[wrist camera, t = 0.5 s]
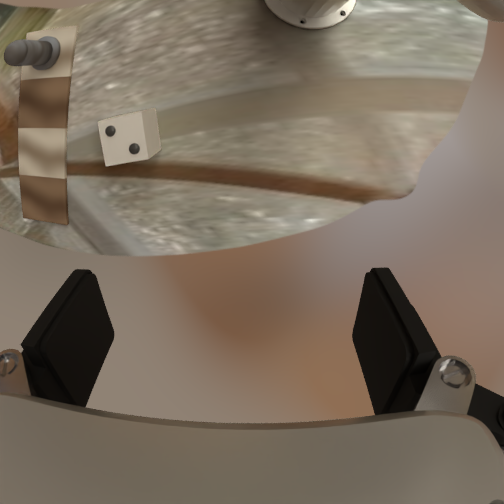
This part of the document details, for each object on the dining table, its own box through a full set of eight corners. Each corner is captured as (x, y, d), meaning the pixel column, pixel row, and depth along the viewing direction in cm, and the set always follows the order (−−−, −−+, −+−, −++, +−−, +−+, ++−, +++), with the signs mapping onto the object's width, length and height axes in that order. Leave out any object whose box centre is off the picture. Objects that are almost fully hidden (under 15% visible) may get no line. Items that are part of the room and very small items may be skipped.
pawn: (36, 38, 31) (-3, 36, 23) (63, 34, 32) (25, 30, 23) (31, 71, 34) (-8, 75, 26) (58, 68, 34) (19, 70, 26)
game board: (29, 33, 31) (27, 33, 30) (79, 25, 32) (77, 25, 31) (25, 216, 46) (23, 217, 46) (68, 223, 47) (67, 225, 47)
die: (116, 115, 39) (97, 121, 34) (155, 107, 39) (140, 111, 33) (122, 155, 42) (105, 166, 37) (161, 149, 42) (148, 159, 36)
